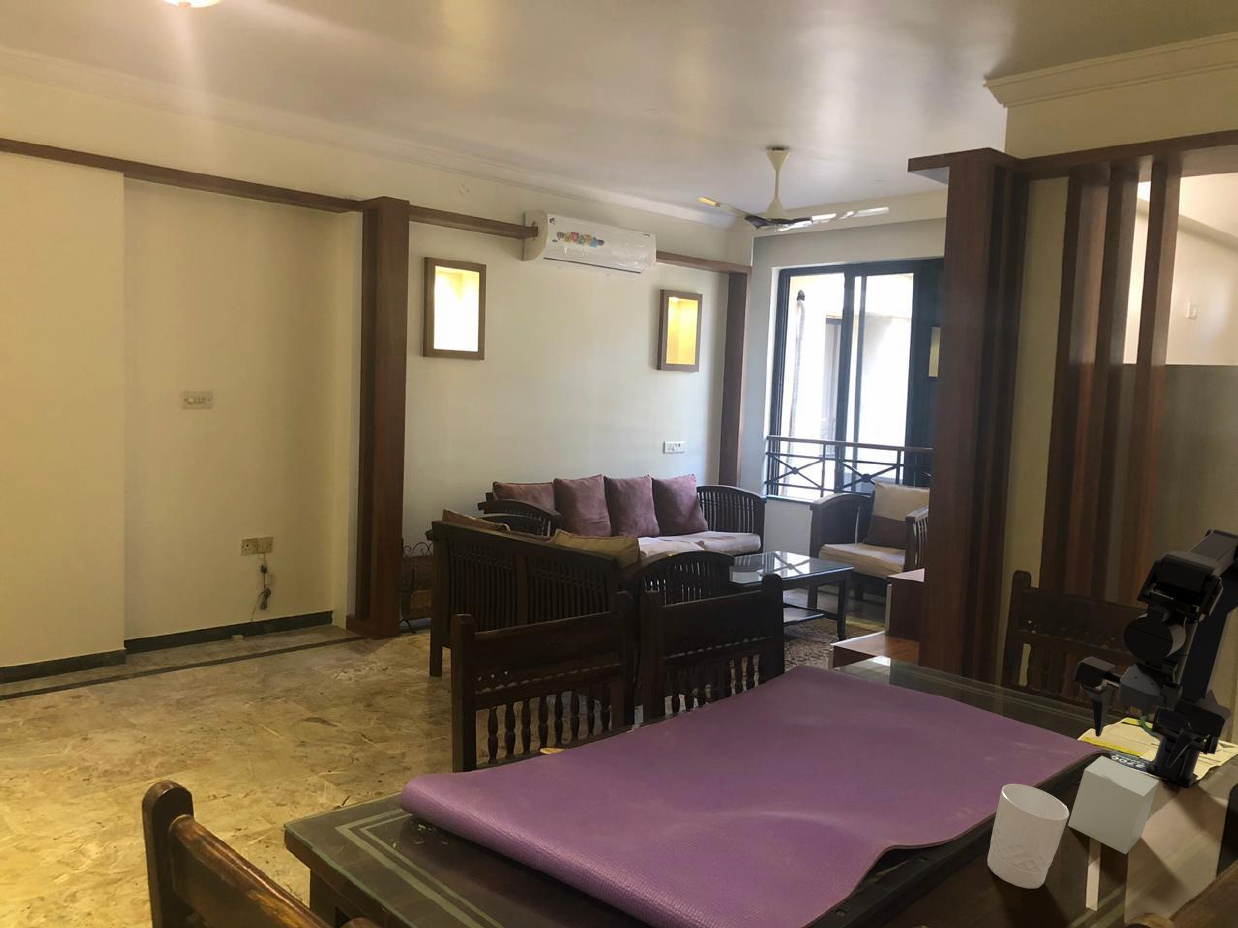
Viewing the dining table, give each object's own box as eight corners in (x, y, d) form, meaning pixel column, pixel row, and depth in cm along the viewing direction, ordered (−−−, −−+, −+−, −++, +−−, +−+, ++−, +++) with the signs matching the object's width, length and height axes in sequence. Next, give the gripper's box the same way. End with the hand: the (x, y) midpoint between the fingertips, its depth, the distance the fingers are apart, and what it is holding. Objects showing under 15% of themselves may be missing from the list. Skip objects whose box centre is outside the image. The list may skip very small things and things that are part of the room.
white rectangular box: (1085, 809, 139) (1101, 755, 138) (1141, 836, 134) (1159, 780, 132) (1067, 825, 134) (1084, 769, 132) (1125, 854, 129) (1143, 796, 127)
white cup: (1036, 860, 123) (1056, 791, 121) (1056, 898, 115) (1078, 825, 113) (975, 847, 124) (994, 778, 122) (991, 883, 116) (1012, 810, 114)
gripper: (1073, 630, 129) (1044, 734, 132) (1229, 687, 116) (1192, 800, 120) (1099, 618, 137) (1071, 716, 140) (1247, 670, 125) (1212, 776, 128)
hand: (1132, 750), depth 132 cm, fingers open, 9 cm apart
